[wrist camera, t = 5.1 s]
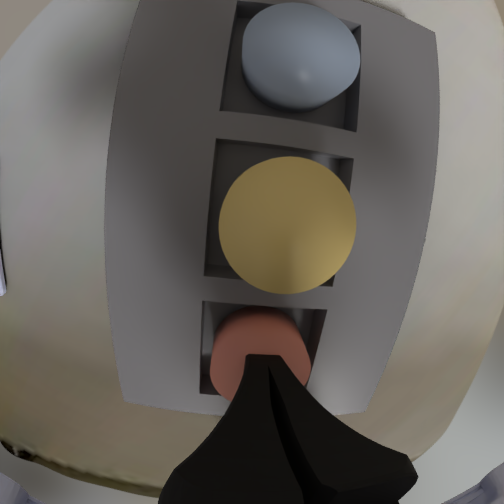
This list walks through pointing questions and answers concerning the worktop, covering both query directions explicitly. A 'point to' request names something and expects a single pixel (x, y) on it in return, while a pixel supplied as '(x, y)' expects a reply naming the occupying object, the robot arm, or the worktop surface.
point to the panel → (230, 168)
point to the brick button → (255, 345)
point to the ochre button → (287, 225)
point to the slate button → (298, 57)
